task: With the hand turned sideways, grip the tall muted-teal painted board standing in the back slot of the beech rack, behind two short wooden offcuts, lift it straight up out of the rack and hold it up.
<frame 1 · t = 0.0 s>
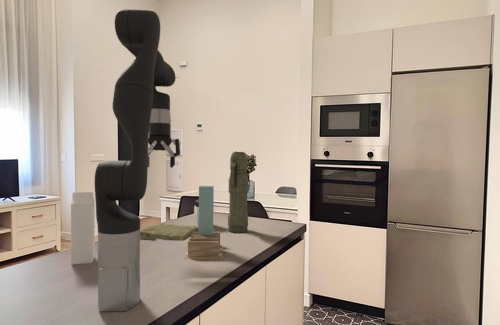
hand: (159, 167, 124), 29 cm above the kitchen island, tool pointing down, fingers open, 8 cm apart
oak offcut: (203, 254, 113), point 1 cm above the kitchen island, touching beech rack
thermos: (237, 231, 151), on the kitchen island
beech rack: (204, 253, 118), on the kitchen island
jar: (203, 226, 160), on the kitchen island
milk: (83, 261, 109), on the kitchen island
teal board: (205, 247, 122), point 1 cm above the kitchen island, touching beech rack
walnut offcut: (204, 250, 118), point 1 cm above the kitchen island, touching beech rack
decorative tile: (168, 237, 142), on the kitchen island
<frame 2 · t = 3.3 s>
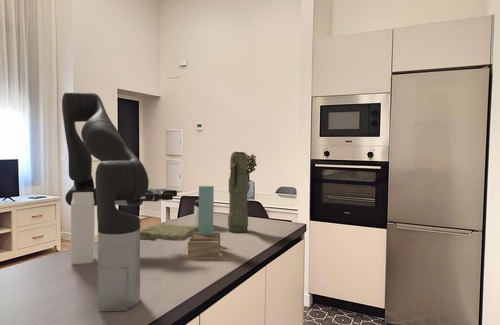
hand: (174, 194, 120), 20 cm above the kitchen island, tool horizontal, fingers open, 8 cm apart
nothing on the kitchen island moved.
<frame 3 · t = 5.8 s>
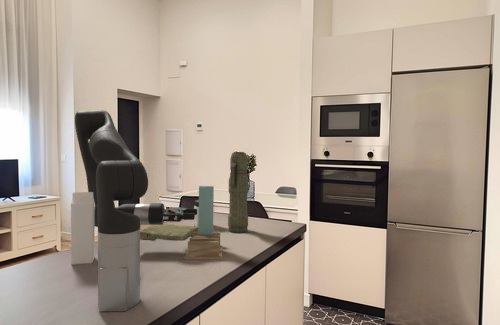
hand: (195, 214, 121), 13 cm above the kitchen island, tool horizontal, fingers open, 8 cm apart
nothing on the kitchen island moved.
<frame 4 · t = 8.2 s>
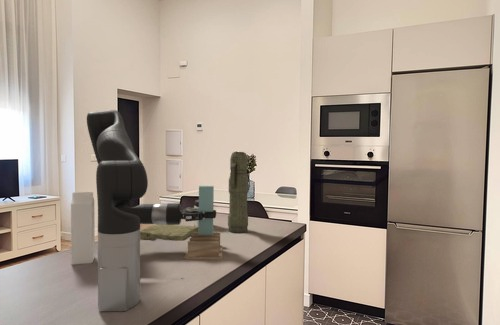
hand: (215, 214, 122), 13 cm above the kitchen island, tool horizontal, fingers closed on teal board, 2 cm apart
teal board: (205, 247, 122), point 1 cm above the kitchen island, touching beech rack, gripper
everything else where it was.
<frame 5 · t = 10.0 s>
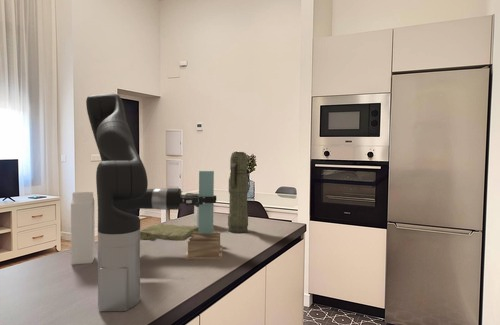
hand: (215, 199, 121), 18 cm above the kitchen island, tool horizontal, fingers closed on teal board, 2 cm apart
teal board: (206, 232, 121), point 6 cm above the kitchen island, touching gripper
everything else where it was.
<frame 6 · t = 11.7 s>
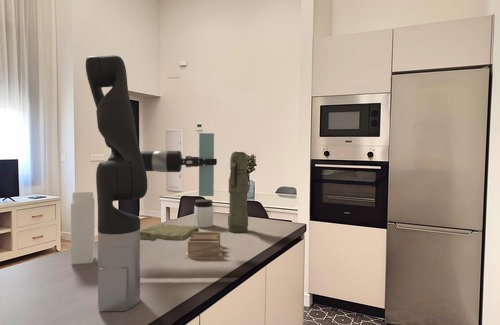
hand: (216, 161, 121), 32 cm above the kitchen island, tool horizontal, fingers closed on teal board, 2 cm apart
teal board: (206, 195, 121), point 20 cm above the kitchen island, touching gripper
everything else where it was.
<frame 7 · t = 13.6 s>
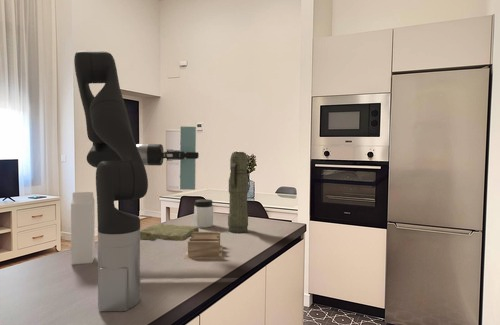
hand: (197, 155, 120), 34 cm above the kitchen island, tool horizontal, fingers closed on teal board, 2 cm apart
teal board: (187, 189, 121), point 22 cm above the kitchen island, touching gripper
everything else where it was.
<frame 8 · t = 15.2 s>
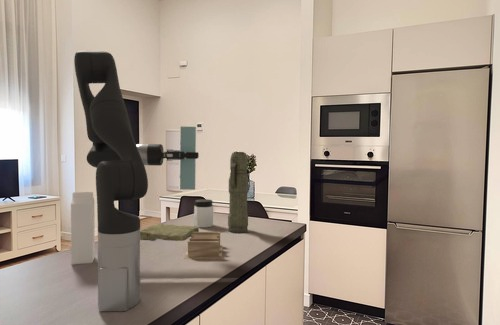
hand: (197, 155, 120), 34 cm above the kitchen island, tool horizontal, fingers closed on teal board, 2 cm apart
teal board: (187, 189, 121), point 22 cm above the kitchen island, touching gripper
everything else where it was.
at the end: the gripper is holding teal board; teal board point 21.9 cm above the kitchen island; teal board touching gripper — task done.
